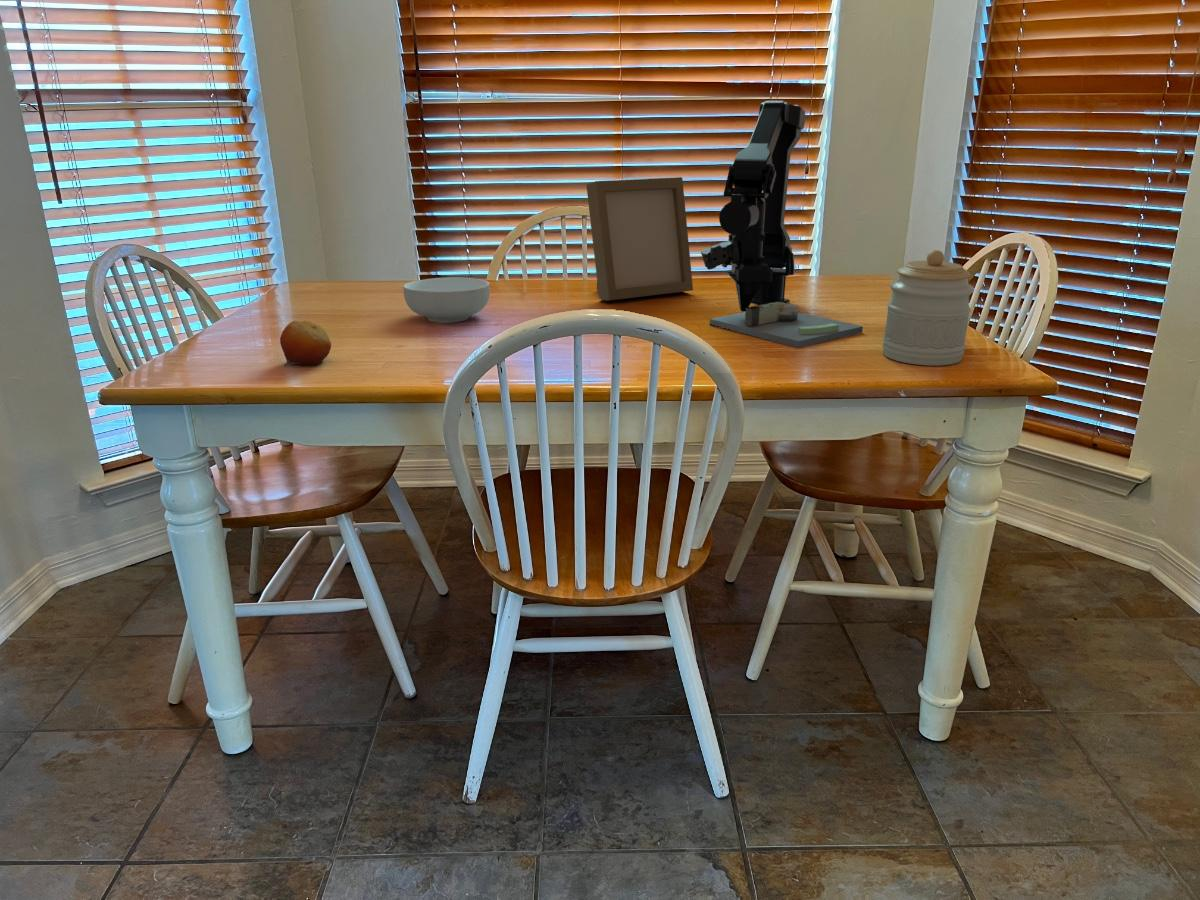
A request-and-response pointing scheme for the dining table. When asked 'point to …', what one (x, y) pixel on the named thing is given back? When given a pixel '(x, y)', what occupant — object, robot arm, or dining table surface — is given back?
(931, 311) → the jar
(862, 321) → the dining table surface
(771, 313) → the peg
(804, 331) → the board
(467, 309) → the cereal bowl
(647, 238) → the photo frame
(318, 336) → the fruit
